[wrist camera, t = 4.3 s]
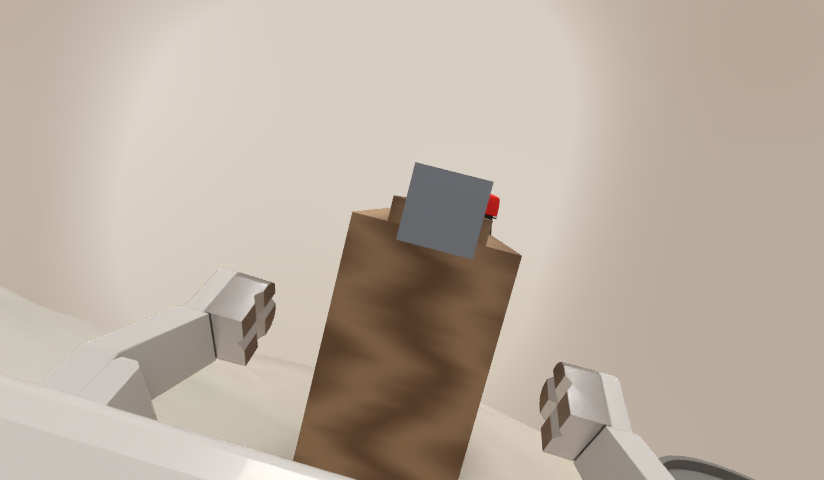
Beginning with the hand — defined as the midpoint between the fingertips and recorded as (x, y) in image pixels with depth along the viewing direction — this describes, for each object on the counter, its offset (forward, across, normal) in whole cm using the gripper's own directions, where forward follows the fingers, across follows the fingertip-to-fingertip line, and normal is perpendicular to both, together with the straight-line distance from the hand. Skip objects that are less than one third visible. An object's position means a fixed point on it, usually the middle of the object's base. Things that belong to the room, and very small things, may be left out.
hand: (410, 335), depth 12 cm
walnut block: (+6, 0, +31) cm, 31 cm away
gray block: (+13, 0, +6) cm, 14 cm away
